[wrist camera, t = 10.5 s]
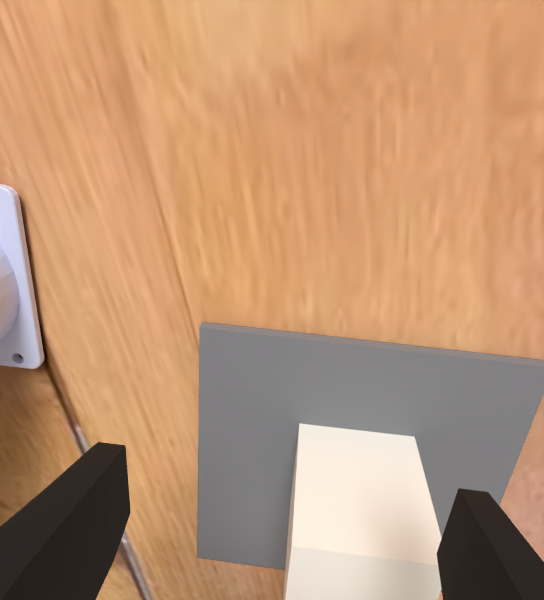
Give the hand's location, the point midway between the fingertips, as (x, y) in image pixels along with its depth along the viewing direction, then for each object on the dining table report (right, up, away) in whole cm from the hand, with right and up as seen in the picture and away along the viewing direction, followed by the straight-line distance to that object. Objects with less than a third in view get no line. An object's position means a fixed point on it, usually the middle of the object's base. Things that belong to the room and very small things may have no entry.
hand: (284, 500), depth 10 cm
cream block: (+3, -4, +11) cm, 12 cm away
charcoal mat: (+3, -4, +12) cm, 13 cm away
